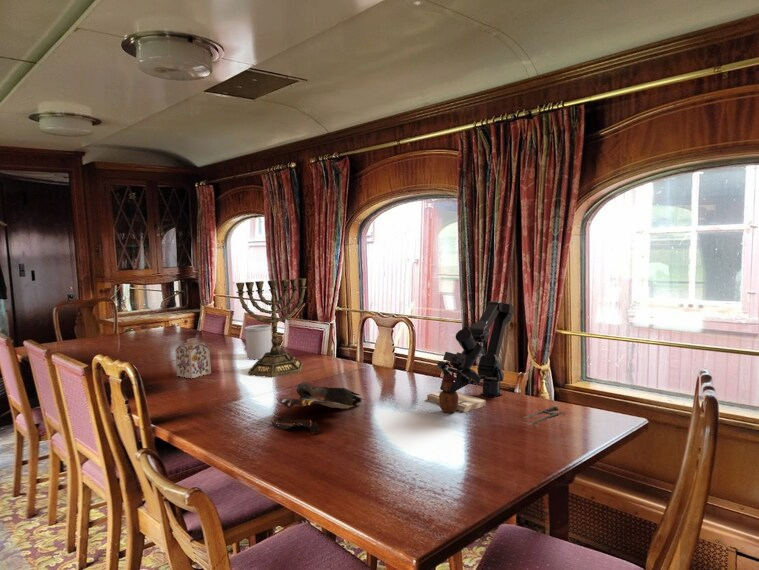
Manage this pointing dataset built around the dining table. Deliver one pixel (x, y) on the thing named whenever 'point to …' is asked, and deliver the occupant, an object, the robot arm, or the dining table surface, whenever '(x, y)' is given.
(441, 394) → the wooden figurine
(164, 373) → the dining table surface
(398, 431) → the dining table surface
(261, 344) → the utensil holder
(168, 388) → the dining table surface
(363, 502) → the dining table surface
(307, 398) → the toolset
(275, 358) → the menorah
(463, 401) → the maple board
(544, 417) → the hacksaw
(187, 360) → the decorative jar
